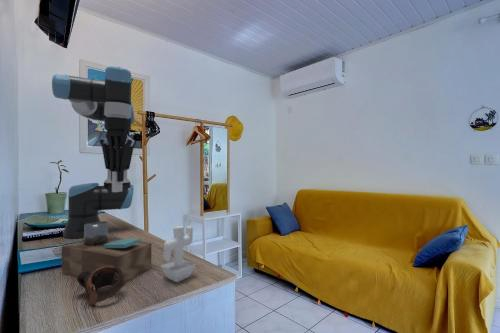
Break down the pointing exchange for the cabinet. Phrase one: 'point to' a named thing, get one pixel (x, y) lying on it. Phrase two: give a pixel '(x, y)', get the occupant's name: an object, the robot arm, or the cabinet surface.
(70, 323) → the cabinet surface
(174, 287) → the cabinet surface
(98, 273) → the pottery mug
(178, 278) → the figurine
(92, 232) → the pin
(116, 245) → the latch
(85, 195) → the robot arm
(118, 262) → the block
